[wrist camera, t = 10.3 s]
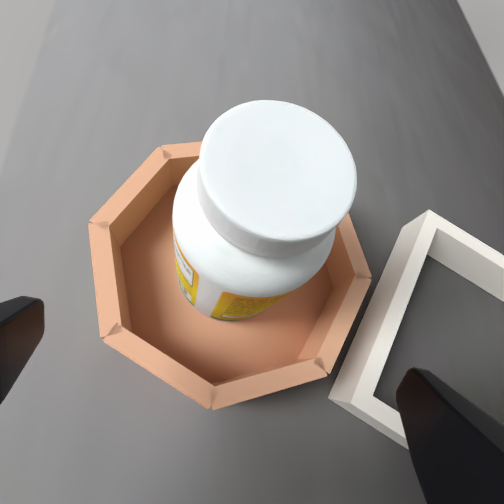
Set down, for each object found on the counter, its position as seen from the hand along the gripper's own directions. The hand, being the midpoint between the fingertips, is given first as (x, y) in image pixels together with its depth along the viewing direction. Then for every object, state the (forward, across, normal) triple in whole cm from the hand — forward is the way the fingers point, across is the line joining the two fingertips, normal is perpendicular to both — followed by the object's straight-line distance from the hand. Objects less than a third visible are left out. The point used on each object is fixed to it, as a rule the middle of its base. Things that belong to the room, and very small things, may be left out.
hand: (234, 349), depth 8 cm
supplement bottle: (+9, 0, +2) cm, 9 cm away
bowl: (+10, 0, +3) cm, 10 cm away
